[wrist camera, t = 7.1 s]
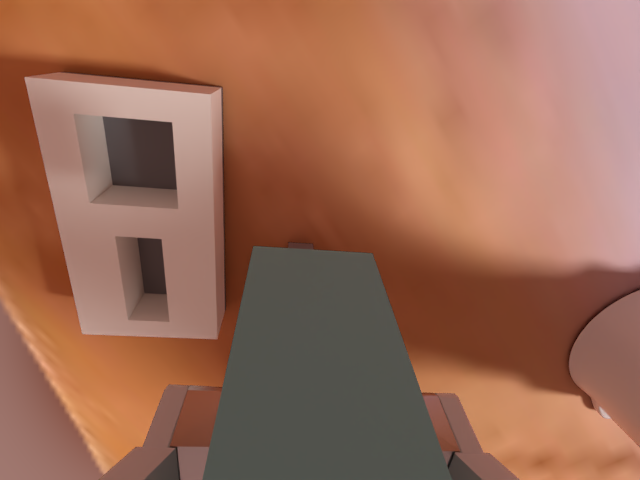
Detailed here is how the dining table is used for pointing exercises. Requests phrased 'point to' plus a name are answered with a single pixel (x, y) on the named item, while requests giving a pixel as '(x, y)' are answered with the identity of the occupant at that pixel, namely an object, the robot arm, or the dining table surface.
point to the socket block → (137, 200)
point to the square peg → (320, 378)
